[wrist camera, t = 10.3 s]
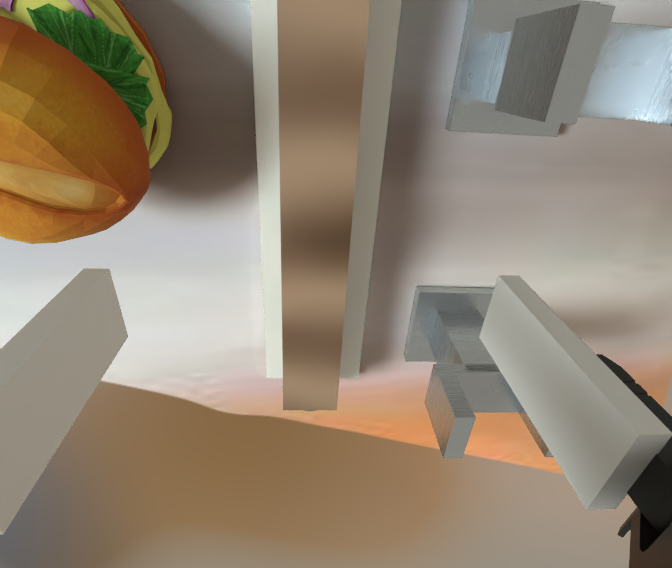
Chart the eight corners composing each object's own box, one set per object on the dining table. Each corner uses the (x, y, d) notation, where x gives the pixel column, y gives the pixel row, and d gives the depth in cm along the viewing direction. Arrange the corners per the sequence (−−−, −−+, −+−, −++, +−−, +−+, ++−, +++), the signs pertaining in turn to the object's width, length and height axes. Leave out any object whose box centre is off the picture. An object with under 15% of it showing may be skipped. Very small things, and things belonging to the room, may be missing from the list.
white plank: (248, -80, 17) (246, -84, 16) (406, -65, 17) (409, -70, 17) (267, 372, 29) (266, 377, 29) (357, 373, 30) (358, 378, 29)
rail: (283, -81, 16) (275, -121, 13) (365, -73, 16) (379, -110, 13) (287, 378, 29) (283, 420, 26) (333, 378, 29) (335, 420, 26)
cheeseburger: (151, -68, 17) (40, -58, 9) (211, 163, 24) (175, 268, 17) (-93, -61, 16) (-404, -45, 9) (45, 172, 24) (-65, 284, 16)
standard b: (465, -6, 18) (602, -70, 10) (594, 5, 19) (835, -48, 10) (441, 128, 21) (529, 171, 13) (553, 134, 22) (712, 180, 13)
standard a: (412, 286, 26) (462, 395, 18) (504, 288, 27) (596, 395, 18) (400, 354, 29) (437, 476, 20) (483, 355, 30) (553, 474, 21)
